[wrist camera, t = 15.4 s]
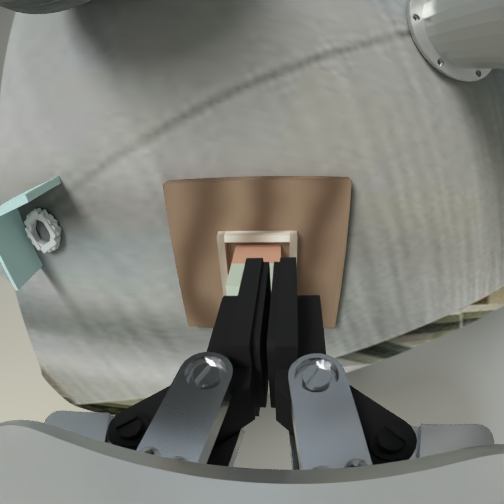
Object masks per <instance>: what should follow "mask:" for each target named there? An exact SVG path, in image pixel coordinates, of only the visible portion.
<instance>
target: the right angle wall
mask: <svg viewBox="0 0 504 504" xmlns="http://www.w3.org/2000/svg"><path fill="white" fill-rule="evenodd" d="M59 184H61V181H60V178H59V176H58V177H55V178H53V179H51V180H49V181H47V182H45V183H43V184H40V185H38V186H36V187H34V188H32V189H30V190H28V191H26V192H24V193H22V194H20V195H18V196H16V197H15V198H13V199H11V200H9V201H7V202H6V203H4V204H2V205H1V206H0V262H1V264H2V266H3V268H4V270H5V272H6V274H7V276H8V278H9V279H10V281H11V283H12V285H13V287H14V289H15V290H19V289H20V288H21V287H22V286H23V285H24V284H25V283H26V282H27V281H28V280H29V279H30V278H31V277H32V276H33V275H34V274H35V273H36V272H37V271H38V270H39V269H40V268H41V267H42V266H43V265H42V263H41V261H40V259H39V257H38V255H37V253H36V251H35V248H34V246H33V245H35V247H36V248H37V250H38V251H39V250H42V252H43V253H47V252H49V253H50V252H52V251H53V250H56V249H58V246H59V245H60V243H59V242H60V239H61V237H60V234H61V227H60V226H58V225H57V220H56V219H54V217H53V216H52V214H48V213H47V211H46V209H44V210H41V208H37V209H34V210H33V212H32V211H31V213H29V215H28V214H27V219H26V220H25V221H24V223H23V221H22V218H21V216H20V213H19V211H18V207H20V206H22V205H24V204H26V203H28V202H30V201H32V200H33V199H35V198H37V197H38V196H40V195H42V194H43V193H45V192H47V191H48V190H50V189H52V188H54V187H55V186H57V185H59ZM37 220H39V221H41V222H43V223H44V225H45V227H46V228H47V230H48V231H49V233H50V241H49V242H47V241H45V240H44V239H42V238H40V237H39V235H38V233H37V231H36V223H37ZM24 224H25V225H26V226H27V227H26V228H25V226H24ZM30 239H31V240H30ZM31 241H32V242H31Z"/></svg>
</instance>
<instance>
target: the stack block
mask: <svg viewBox="0 0 504 504" xmlns="http://www.w3.org/2000/svg"><path fill="white" fill-rule="evenodd" d="M280 257H281V245H236V247H235V251H234V255H233V259H232V263H231V267H230V271H229V275H228V279H227V283H226V293H227V296H238V292H239V288H240V284H241V279H242V275H243V271H244V266H245V262H246V258H263V262H269V265H270V280H271V290H272V278H273V267H274V262H280Z"/></svg>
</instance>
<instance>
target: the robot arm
mask: <svg viewBox="0 0 504 504" xmlns="http://www.w3.org/2000/svg"><path fill="white" fill-rule="evenodd" d="M413 18H414V19H415V20H414V19H413ZM407 22H408V27H409V31H410V33H411V36H412V38H413V40H414V42H415V44H416V46H417V48H418V49H419V51H420V52H421V53H422V55H423V56H424V58H425V59H426V60H427V61H428V62H429V63H430V64H431V65H432V66H433V67H434V68H436V69H437V70H438V71H439V72H441V73H442V74H444V75H446V76H447V77H449V78H452V79H455V80H458V81H464V82H473V81H478V80H481V79H483V78H484V77H486V76H487V75H488V74H489V73H490V72H491V70H492V69H504V0H409V1H408V4H407ZM438 62H439V64H438ZM268 381H269V387H270V399H271V407H272V408H276V420H277V421H278V422H279V423H281V425H283V426H284V427H285V428H286V429H287V430H288V439H289V446H290V454H291V462H292V470H272V469H250V468H237V467H233V465H234V462H235V459H236V456H237V453H238V450H239V448H240V444H241V442H242V439H243V435H244V433H245V426H246V425H247V424H249V423H250V422H252V421H253V420H254V419H255V416H259V410H260V407H266V403H267V392H268ZM0 504H504V444H494V439H493V435H492V433H491V432H490V430H489V429H488V428H487V427H485V426H483V425H479V424H449V425H448V424H421V425H420V427H413V426H410V425H409V424H408V423H407V422H406V421H404V420H402V419H401V418H399V417H398V416H396V415H395V414H393V413H391V412H390V411H388V410H386V409H385V408H383V407H382V406H381V405H379V404H378V403H376V402H374V401H373V400H371V399H370V398H368V397H367V396H365V395H364V394H362V393H361V392H359V391H358V390H356V389H355V388H353V387H352V386H350V385H349V383H348V380H347V377H346V373H345V370H344V368H343V366H342V365H341V363H340V362H339V361H337V360H336V359H335V358H333V357H331V356H329V355H326V350H325V339H324V328H323V319H322V309H321V300H320V295H297V265H296V257H280V262H274V267H273V278H272V290H271V280H270V265H269V262H263V258H246V262H245V266H244V271H243V275H242V279H241V284H240V288H239V292H238V296H223V298H222V301H221V304H220V307H219V311H218V314H217V318H216V321H215V325H214V328H213V332H212V335H211V339H210V342H209V346H208V349H207V352H203V353H198V354H196V355H193V356H191V357H190V358H188V359H187V360H186V361H185V362H184V363H183V364H182V366H181V367H180V369H179V371H178V373H177V375H176V376H175V378H174V380H173V382H172V384H171V385H170V386H169V387H167V388H165V389H163V390H161V391H159V392H158V393H156V394H154V395H152V396H150V397H148V398H146V399H144V400H143V401H141V402H139V403H137V404H135V405H133V406H131V407H129V408H127V409H125V410H123V411H121V412H120V413H118V414H117V415H115V416H111V415H110V413H94V412H73V411H56V412H54V413H52V414H50V415H49V416H48V417H47V418H46V420H45V422H44V423H41V422H36V421H29V420H14V421H13V420H12V421H6V422H2V423H0Z"/></svg>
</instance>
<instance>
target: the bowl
mask: <svg viewBox="0 0 504 504" xmlns="http://www.w3.org/2000/svg"><path fill="white" fill-rule="evenodd" d="M89 1H91V0H0V6H1V7H4V8H7V9H10V10H13V11H16V12H21V13H27V14H47V13H54V12H60V11H64V10H68V9H70V8H73V7H76V6H79V5H82V4H84V3H87V2H89Z"/></svg>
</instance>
